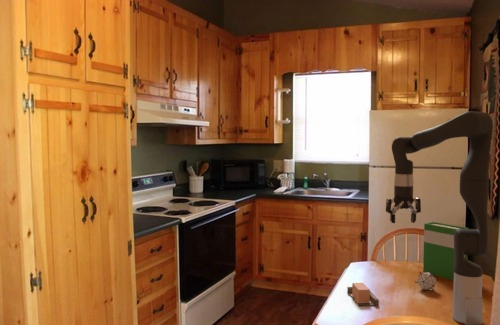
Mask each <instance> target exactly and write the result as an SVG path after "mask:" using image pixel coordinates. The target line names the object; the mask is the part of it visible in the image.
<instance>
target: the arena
mask: <svg viewBox="0 0 500 325" xmlns="http://www.w3.org/2000/svg"><path fill="white" fill-rule="evenodd" d="M346 288H347V291H346V292H347V294H348V295H349V297H350V298H353V299H352V300H353V302H354V303H355V304H356V303H357V304H358V305H357V304H356V305H357V306H358V307H379V306H380V300H379V298H378V297H377V296H376V295H375V294H374V293H373V292H372V291H371V290H370V302H358V301H357V300H356V298H355V297H354V296H353V295H352V286H347V287H346Z"/></svg>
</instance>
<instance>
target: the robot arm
mask: <svg viewBox="0 0 500 325" xmlns="http://www.w3.org/2000/svg"><path fill="white" fill-rule="evenodd" d="M493 130H494V123H493V118H492V117H491V115H490V114H488V113H487V112H485V111H484V112H483V111H473V110H470V111H465V112H463V113H461V114H459V115H457V116H455V117H453V118H451V119H449V120H448V121H446V122H444V123H441V124H439V125H436V126H433V127H430V128H427V129H424V130H420V131H417V132H415V133H414V134H413V135H412V136H398V137H395V138H394V139H393V141H392V144H391V152H392V156H393V160H394V164H395V165H394V166H395V167H394V168H395V169H394V172H395V174H394V184H393V185H394V186H393V192H394V193H393V198H390V197H388V198H386V200H385V201H386V204H385V212H386V213H388V214H389V220H390V222H391V224H396V213H397V211H399V210H403V209H405V210H409V211H410V222H411V223H412V224H415V223H416V221H417V214H418V213H421V212H422V206H421V205H422V204H421V200H422V199H421V198H419V197H415V198H414V183H415V182H414V162H413V161H412V160H411V159H408V157H407V155H409V154H414V153H417V152H419V151H421V150H423V149H428V148H432V147H435V146H437V145H439V144H441V143H443V142H445V141H447V140H450V139H454V138H469V151H468V155H467V157H466V159H465V161H464V163H463V165H462V168H461V170H460V172H459V173H460V174H459V194H460V196H461V198H462V200H463V201H464V203H465V204H466V206H467V207H468V209H469V210H470V212H471V214H472V215H473V217H474V219H475V222H476V229H473V228H468V229H457V230H456V231H455V233H454V280H453V285H452V286H453V287H452V291H453V292H452V293H453V294H452V319H453V320H454V321H455V322H458V323H460V324H463V325H483V310H484V309H483V308H484V298H483V296H482V292H483V268H482V266H481V265H479V264H478V263H475V262H473V261H471V260H469V259H466V258H464V255H468V256H475V257H476V256H477V257H485V256H486V255H487V254H488V250H489V227H488V226H489V224H488V220H489V219H488V209H489V208H488V206H489V205H488V204H489V187H490V176H489V174H490V154H491V153H490V152H491V151H490V150H491V144H492V143H491V142H492V138H493ZM413 203H414V205H415V206H413ZM392 204H393V206H392Z"/></svg>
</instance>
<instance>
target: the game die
mask: <svg viewBox="0 0 500 325" xmlns="http://www.w3.org/2000/svg"><path fill="white" fill-rule="evenodd" d="M429 272H430V271H428V272H426V273H425V272H421V271H419V275H418V279H417V280H416V281H414V283H415V284H417V285H419V286H420V287H421V289H422V290H423V292H426V291H429V290H432V291H434V290H435V289H434V288H435V287H436V286H435V285H436V283H437V281H439V278H436V277H435V275H432V274H430V273H429Z"/></svg>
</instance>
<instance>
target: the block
mask: <svg viewBox="0 0 500 325" xmlns="http://www.w3.org/2000/svg"><path fill="white" fill-rule="evenodd" d="M351 287H352V295H353V296H354V297H355V298H356V300H357V301H358V302H370V291H371V289H370V288H369V287H368V286H367V285H366V284H365V283H364V282H353V283H352V284H351Z"/></svg>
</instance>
